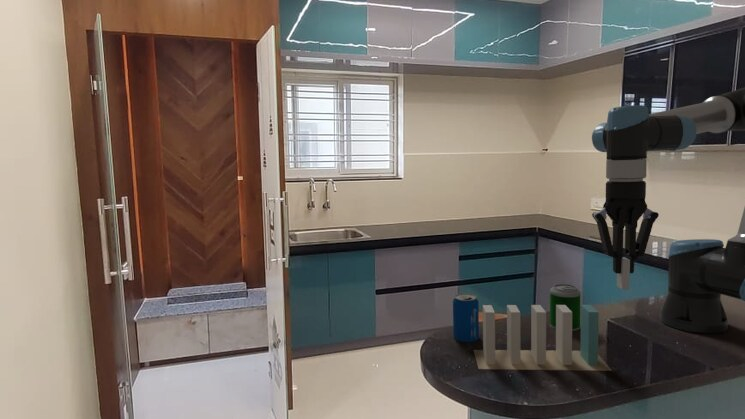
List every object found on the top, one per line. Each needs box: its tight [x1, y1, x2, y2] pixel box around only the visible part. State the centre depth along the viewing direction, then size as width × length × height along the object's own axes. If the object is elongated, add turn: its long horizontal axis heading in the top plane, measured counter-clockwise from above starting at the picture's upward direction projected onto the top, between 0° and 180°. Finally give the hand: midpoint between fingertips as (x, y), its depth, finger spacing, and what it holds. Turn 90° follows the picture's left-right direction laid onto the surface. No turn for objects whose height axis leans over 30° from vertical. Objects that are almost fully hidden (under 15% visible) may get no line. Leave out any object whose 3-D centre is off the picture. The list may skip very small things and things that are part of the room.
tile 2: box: [555, 305, 573, 365], centre depth 102 cm, size 2×5×12 cm, turn 174°
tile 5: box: [482, 304, 496, 364], centre depth 104 cm, size 2×5×12 cm, turn 174°
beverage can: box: [452, 292, 480, 343], centre depth 117 cm, size 6×6×12 cm
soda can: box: [549, 283, 581, 332], centre depth 122 cm, size 8×8×12 cm
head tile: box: [579, 304, 600, 365], centre depth 101 cm, size 2×5×12 cm, turn 174°
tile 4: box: [506, 304, 521, 364], centre depth 103 cm, size 2×5×12 cm, turn 174°
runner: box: [473, 349, 613, 372], centre depth 103 cm, size 28×10×1 cm, turn 84°
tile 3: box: [530, 304, 547, 365], centre depth 103 cm, size 2×5×12 cm, turn 174°
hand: (622, 287), depth 99 cm, fingers closed
